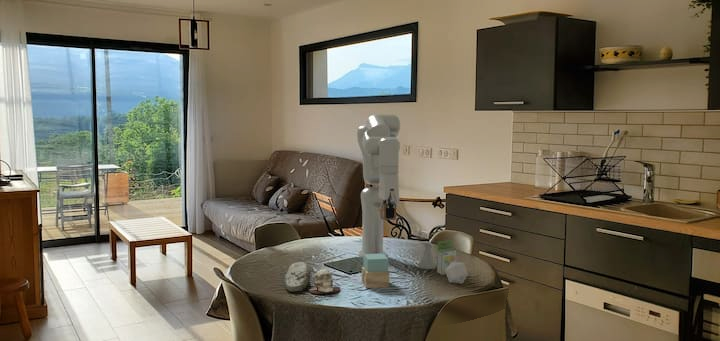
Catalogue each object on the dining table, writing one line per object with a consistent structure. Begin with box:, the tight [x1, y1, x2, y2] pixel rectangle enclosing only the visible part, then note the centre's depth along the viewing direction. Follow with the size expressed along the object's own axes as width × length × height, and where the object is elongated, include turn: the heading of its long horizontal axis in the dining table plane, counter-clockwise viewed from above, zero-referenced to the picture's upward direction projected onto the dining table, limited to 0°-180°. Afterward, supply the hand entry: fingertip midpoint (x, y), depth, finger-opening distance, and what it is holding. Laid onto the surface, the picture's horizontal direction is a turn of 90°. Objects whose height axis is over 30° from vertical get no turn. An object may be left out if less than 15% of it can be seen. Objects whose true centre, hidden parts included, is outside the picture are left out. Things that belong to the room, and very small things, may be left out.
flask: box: [418, 243, 437, 270], centre depth 250 cm, size 7×7×10 cm
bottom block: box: [361, 266, 390, 289], centre depth 227 cm, size 9×9×6 cm
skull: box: [308, 268, 341, 295], centre depth 218 cm, size 12×10×10 cm
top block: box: [362, 253, 389, 272], centre depth 227 cm, size 8×8×5 cm
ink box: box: [436, 239, 457, 276], centre depth 241 cm, size 7×4×13 cm, turn 117°
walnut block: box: [379, 203, 397, 221], centre depth 228 cm, size 5×5×6 cm
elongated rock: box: [283, 261, 311, 293], centre depth 232 cm, size 35×5×10 cm
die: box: [445, 261, 469, 285], centre depth 230 cm, size 8×9×10 cm
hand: (388, 216), depth 228 cm, fingers closed on walnut block, 5 cm apart
